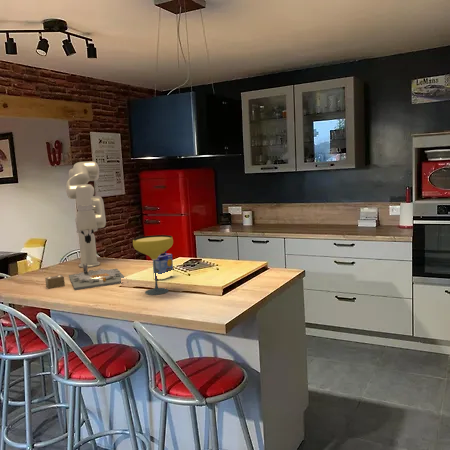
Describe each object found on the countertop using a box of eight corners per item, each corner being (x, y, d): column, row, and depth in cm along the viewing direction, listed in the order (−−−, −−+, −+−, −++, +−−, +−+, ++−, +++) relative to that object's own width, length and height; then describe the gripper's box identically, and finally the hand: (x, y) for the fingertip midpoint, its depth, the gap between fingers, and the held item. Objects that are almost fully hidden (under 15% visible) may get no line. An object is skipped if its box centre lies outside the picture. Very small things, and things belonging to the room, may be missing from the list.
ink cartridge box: (161, 280, 237) (159, 252, 235) (153, 279, 240) (151, 252, 238) (174, 276, 245) (172, 249, 243) (166, 275, 248) (164, 248, 246)
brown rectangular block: (46, 287, 237) (45, 277, 236) (62, 284, 241) (61, 274, 241) (48, 289, 233) (47, 278, 232) (64, 286, 237) (63, 276, 236)
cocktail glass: (133, 290, 222) (129, 237, 218) (171, 284, 228) (167, 233, 225) (141, 299, 205) (136, 243, 202) (181, 293, 211) (177, 238, 208)
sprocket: (63, 280, 242) (61, 268, 241) (96, 270, 263) (95, 259, 262) (97, 284, 230) (96, 271, 230) (130, 273, 251) (129, 261, 250)
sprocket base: (69, 277, 257) (68, 271, 256) (116, 270, 266) (116, 265, 266) (74, 290, 227) (74, 283, 227) (128, 282, 237) (127, 276, 237)
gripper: (98, 207, 254) (101, 240, 257) (69, 209, 249) (73, 243, 251) (100, 207, 248) (103, 242, 250) (71, 210, 242) (74, 245, 244)
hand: (88, 242), depth 251 cm, fingers closed
